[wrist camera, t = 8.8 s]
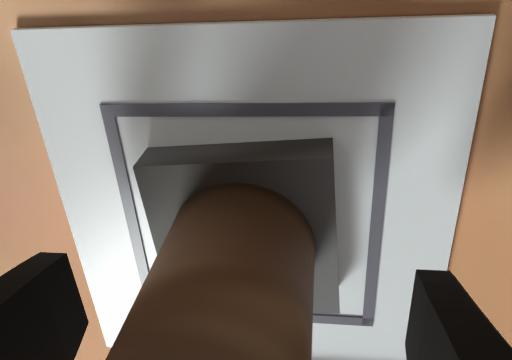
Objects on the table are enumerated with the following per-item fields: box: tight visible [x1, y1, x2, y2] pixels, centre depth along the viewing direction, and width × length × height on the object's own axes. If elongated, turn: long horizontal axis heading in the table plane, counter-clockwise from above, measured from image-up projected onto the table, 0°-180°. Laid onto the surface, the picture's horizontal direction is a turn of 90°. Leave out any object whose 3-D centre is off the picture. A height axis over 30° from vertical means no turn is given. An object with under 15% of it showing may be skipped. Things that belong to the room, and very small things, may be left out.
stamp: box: [106, 138, 340, 360], centre depth 9 cm, size 4×4×6 cm
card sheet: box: [10, 14, 496, 360], centre depth 12 cm, size 10×10×1 cm
